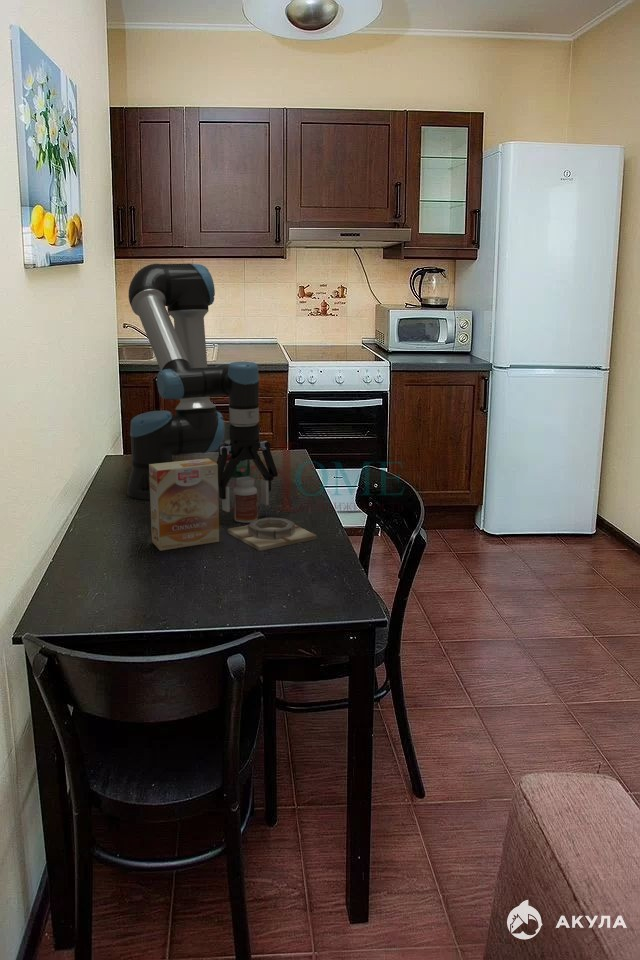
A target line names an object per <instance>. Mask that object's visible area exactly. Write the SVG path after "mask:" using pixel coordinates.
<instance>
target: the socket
mask: <svg viewBox="0 0 640 960" xmlns="http://www.w3.org/2000/svg"><path fill="white" fill-rule="evenodd" d="M227 534H229V535H231V536H233V538H236V539H237V540H239V541H240V542H243V543H245V544H246V545H248V546H250V547H252V548H254V549H255V550H257V551H258V552H262V551H267V550H271V549H276V548H281V547H285V546H290V545H295V544H300V543H305V542H309V541H316V540H317V537H318V536H317V534H315V533H313V532H312V531H311V532H310V531H308V530H307V529H305V528H302V527H301V526H300V525H296V523H295V522H294V521H292V520H289V519H288V518H282V517H281V518H280V517H270V516H269V517H264V518H258V519H257V520H254V521H252V522H250V523H248V524H247V525H242V526H237V527H230V528H227Z"/></svg>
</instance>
